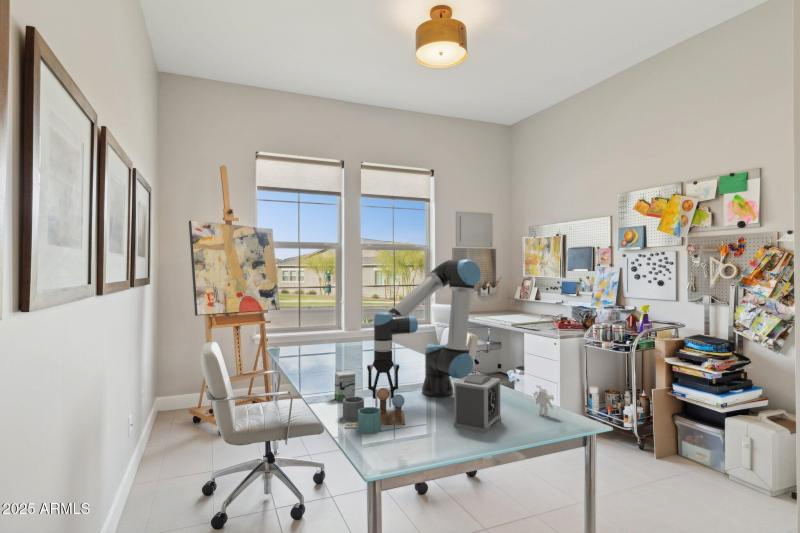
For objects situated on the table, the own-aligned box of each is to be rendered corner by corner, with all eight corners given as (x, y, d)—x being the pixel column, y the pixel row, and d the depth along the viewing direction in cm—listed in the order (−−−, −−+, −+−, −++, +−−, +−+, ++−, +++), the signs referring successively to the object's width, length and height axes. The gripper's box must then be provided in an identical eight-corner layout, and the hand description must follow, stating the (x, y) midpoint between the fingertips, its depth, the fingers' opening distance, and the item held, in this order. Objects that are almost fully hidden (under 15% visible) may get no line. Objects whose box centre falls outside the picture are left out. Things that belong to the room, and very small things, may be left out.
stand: (403, 411, 180) (403, 397, 180) (404, 424, 164) (404, 409, 164) (377, 411, 180) (377, 397, 180) (376, 425, 164) (376, 410, 164)
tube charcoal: (364, 413, 177) (364, 396, 177) (363, 420, 169) (363, 402, 169) (344, 413, 177) (344, 396, 177) (342, 420, 168) (342, 402, 169)
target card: (363, 423, 165) (363, 421, 165) (362, 428, 160) (362, 426, 160) (345, 423, 165) (345, 422, 165) (344, 428, 160) (344, 426, 160)
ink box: (337, 401, 193) (337, 375, 194) (334, 398, 198) (334, 372, 198) (355, 398, 197) (355, 373, 198) (351, 395, 202) (351, 370, 202)
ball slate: (404, 405, 170) (404, 392, 170) (404, 409, 165) (404, 396, 165) (391, 405, 170) (391, 392, 170) (391, 409, 165) (391, 396, 165)
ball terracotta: (389, 398, 179) (389, 386, 179) (389, 402, 174) (389, 389, 174) (377, 398, 179) (377, 386, 179) (377, 402, 174) (377, 390, 174)
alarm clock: (485, 434, 155) (485, 383, 155) (452, 427, 162) (452, 378, 162) (501, 419, 170) (501, 373, 171) (471, 413, 177) (471, 369, 178)
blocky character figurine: (531, 413, 177) (531, 384, 177) (537, 411, 180) (537, 382, 180) (550, 419, 170) (550, 388, 170) (556, 417, 172) (556, 387, 173)
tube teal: (380, 425, 163) (380, 407, 163) (380, 433, 155) (380, 414, 155) (358, 425, 163) (358, 407, 163) (357, 434, 155) (357, 414, 155)
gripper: (404, 348, 180) (404, 403, 180) (362, 348, 180) (362, 403, 180) (405, 351, 173) (405, 409, 173) (360, 351, 172) (360, 409, 172)
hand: (383, 406), depth 176 cm, fingers closed on ball terracotta, 5 cm apart
